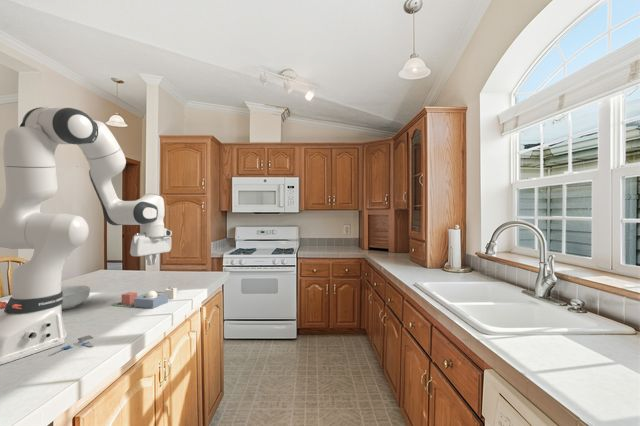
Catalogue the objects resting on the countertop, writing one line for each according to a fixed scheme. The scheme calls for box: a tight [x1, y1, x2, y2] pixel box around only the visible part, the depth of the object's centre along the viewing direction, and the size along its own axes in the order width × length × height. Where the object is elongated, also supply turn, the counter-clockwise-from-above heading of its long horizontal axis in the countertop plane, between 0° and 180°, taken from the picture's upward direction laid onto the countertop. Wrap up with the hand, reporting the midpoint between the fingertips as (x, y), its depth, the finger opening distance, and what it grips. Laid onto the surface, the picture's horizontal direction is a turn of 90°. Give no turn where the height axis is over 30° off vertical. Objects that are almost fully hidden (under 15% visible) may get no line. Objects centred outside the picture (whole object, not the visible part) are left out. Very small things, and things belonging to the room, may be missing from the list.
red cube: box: [120, 291, 138, 306], centre depth 131 cm, size 4×4×4 cm
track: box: [112, 290, 164, 308], centre depth 139 cm, size 23×9×1 cm, turn 169°
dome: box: [145, 290, 157, 298], centre depth 131 cm, size 4×4×5 cm
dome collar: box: [133, 293, 169, 309], centre depth 131 cm, size 9×9×4 cm
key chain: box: [47, 334, 94, 357], centre depth 91 cm, size 14×8×1 cm, turn 4°
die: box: [163, 287, 178, 300], centre depth 142 cm, size 4×4×5 cm
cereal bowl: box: [61, 285, 91, 311], centre depth 125 cm, size 17×17×7 cm
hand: (151, 264), depth 131 cm, fingers closed
